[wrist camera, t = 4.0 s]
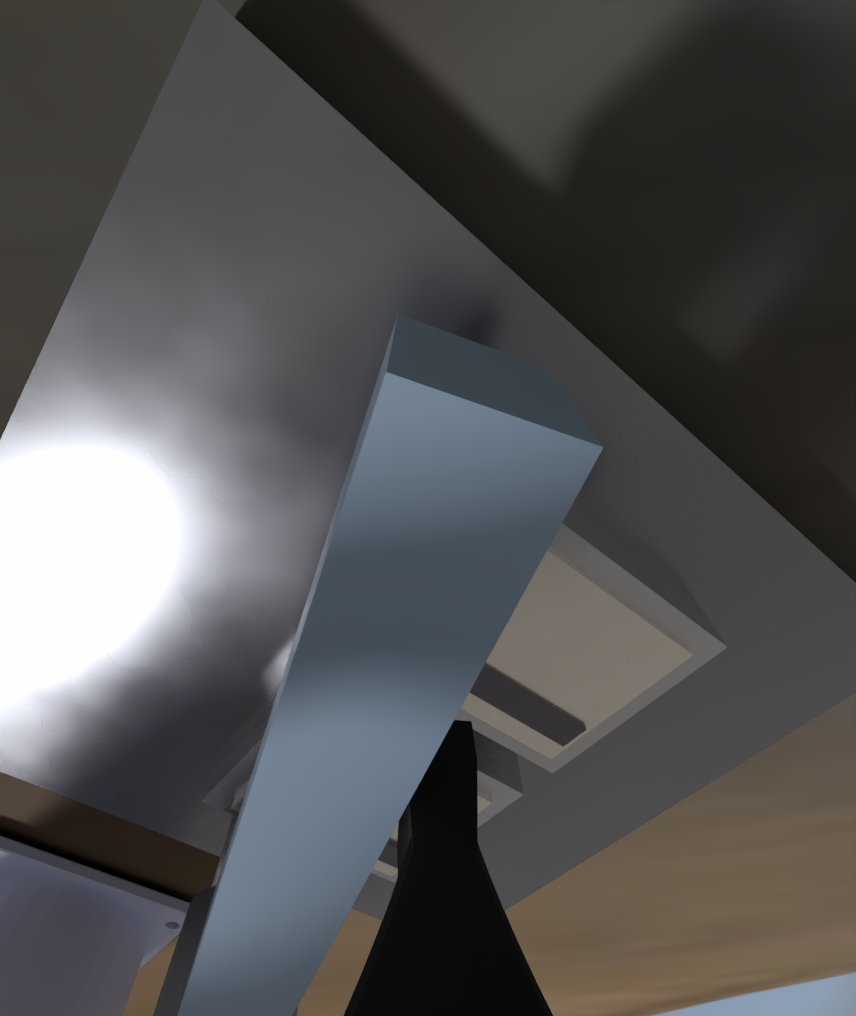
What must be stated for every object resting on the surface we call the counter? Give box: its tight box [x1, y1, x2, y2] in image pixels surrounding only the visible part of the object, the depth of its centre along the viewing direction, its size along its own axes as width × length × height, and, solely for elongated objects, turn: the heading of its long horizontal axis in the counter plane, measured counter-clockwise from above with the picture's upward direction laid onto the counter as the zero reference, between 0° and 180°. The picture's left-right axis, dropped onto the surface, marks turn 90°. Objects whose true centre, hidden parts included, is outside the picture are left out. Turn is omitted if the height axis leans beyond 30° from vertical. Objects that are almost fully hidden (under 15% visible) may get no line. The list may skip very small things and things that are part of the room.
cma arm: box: [153, 314, 603, 1016], centre depth 10 cm, size 17×3×3 cm, turn 160°
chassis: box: [0, 0, 856, 920], centre depth 14 cm, size 18×19×3 cm
